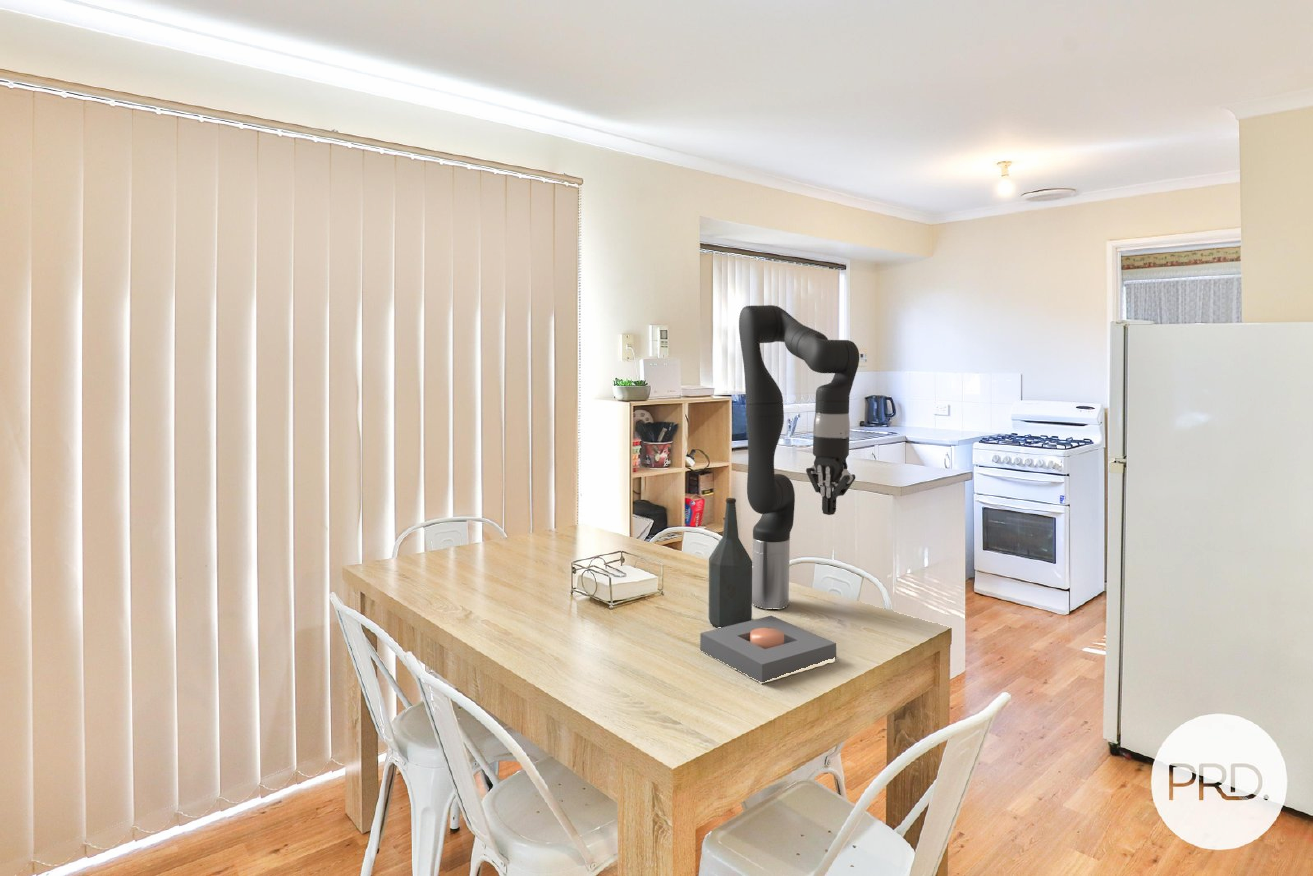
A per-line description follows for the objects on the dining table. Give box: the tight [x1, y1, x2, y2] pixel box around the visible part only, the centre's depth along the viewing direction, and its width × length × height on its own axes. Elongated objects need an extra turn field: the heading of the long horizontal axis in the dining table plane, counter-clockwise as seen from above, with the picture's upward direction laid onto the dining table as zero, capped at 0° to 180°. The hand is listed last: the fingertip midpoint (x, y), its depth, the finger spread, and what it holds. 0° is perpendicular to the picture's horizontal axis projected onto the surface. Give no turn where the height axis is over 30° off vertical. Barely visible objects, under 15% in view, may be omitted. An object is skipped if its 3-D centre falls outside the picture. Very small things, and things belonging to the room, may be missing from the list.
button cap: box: [750, 628, 784, 649], centre depth 159 cm, size 7×7×4 cm
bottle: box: [708, 497, 753, 628], centre depth 177 cm, size 10×10×30 cm
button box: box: [699, 615, 837, 682], centre depth 159 cm, size 20×20×4 cm
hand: (828, 514), depth 163 cm, fingers closed
